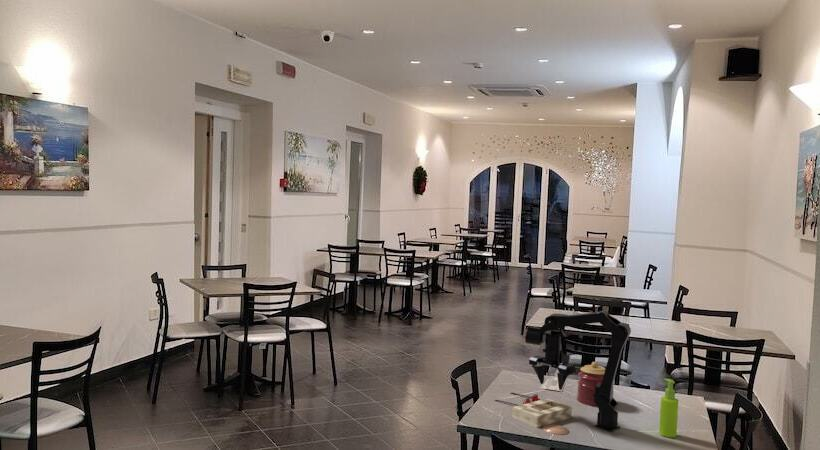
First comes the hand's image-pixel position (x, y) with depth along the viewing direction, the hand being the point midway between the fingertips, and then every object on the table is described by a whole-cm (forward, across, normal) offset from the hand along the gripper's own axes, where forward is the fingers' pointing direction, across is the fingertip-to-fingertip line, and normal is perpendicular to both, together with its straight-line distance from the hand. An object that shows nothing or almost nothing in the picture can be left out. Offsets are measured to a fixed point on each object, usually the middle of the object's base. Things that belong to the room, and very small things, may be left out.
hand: (551, 386), depth 247 cm
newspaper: (+12, +26, -32) cm, 43 cm away
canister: (+12, +1, -29) cm, 31 cm away
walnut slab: (+9, 0, +5) cm, 11 cm away
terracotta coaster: (+12, -11, +11) cm, 20 cm away
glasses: (+12, +19, 0) cm, 22 cm away
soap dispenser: (+13, -35, -23) cm, 44 cm away
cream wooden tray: (+12, 0, +5) cm, 13 cm away
